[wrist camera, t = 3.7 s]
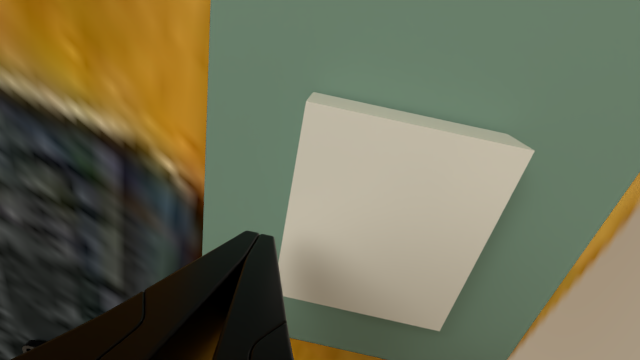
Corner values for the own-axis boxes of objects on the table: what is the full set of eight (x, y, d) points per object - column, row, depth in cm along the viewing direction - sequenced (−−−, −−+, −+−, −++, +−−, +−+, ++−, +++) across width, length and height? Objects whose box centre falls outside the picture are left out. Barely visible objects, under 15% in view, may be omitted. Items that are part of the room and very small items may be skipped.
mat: (487, 375, 17) (490, 382, 16) (203, 311, 17) (200, 317, 17) (742, 5, 9) (758, 4, 9) (219, -105, 9) (214, -110, 9)
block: (283, 262, 14) (428, 294, 14) (272, 293, 13) (439, 331, 13) (313, 91, 11) (505, 132, 11) (306, 101, 9) (534, 150, 9)
